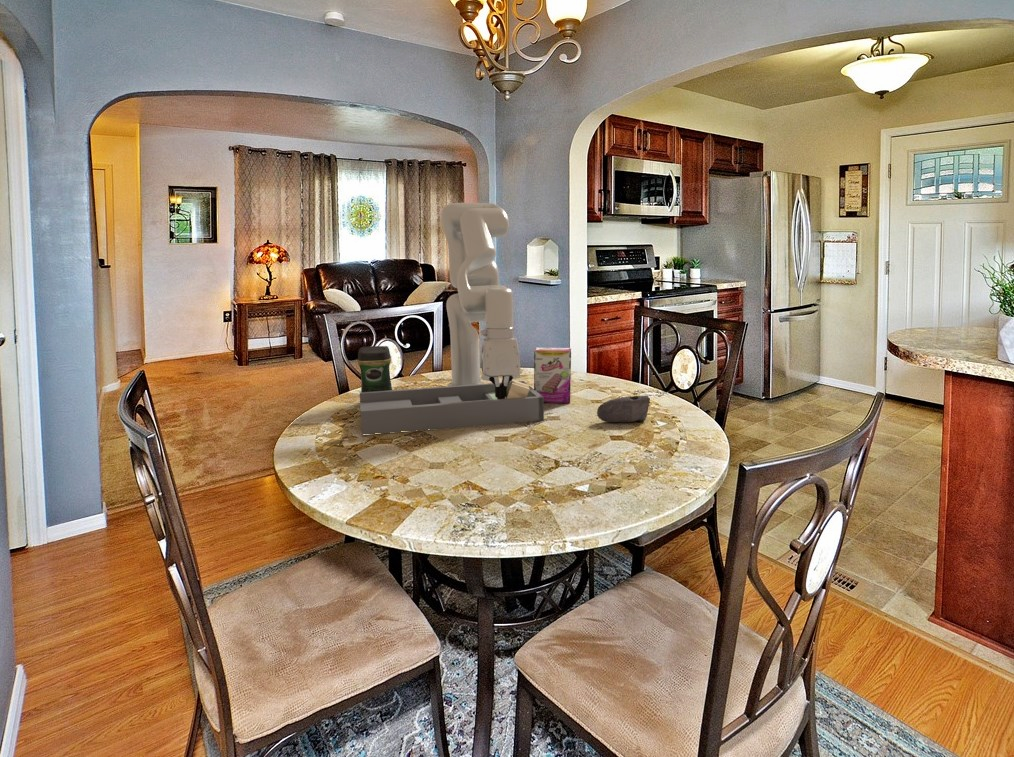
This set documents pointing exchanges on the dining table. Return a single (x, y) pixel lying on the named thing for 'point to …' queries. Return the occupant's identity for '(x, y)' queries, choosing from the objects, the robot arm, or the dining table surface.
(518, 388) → the maple block
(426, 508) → the dining table surface
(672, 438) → the dining table surface
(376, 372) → the coffee jar
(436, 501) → the dining table surface
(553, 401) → the candy bar box
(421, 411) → the box
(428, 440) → the dining table surface
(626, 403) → the perforated stone tool
